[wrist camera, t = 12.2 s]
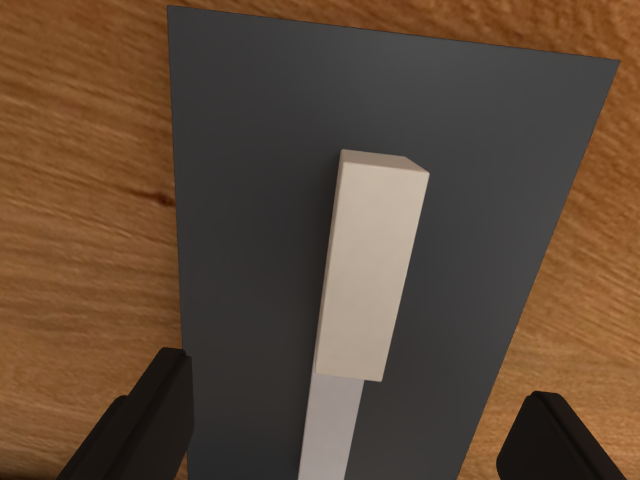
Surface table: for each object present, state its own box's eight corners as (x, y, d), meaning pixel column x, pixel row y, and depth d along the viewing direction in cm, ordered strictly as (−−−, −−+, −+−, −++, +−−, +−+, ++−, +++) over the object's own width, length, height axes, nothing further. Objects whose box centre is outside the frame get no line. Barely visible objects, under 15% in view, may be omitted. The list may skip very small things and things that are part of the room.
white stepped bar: (341, 148, 13) (342, 161, 10) (406, 156, 13) (430, 172, 10) (298, 473, 20) (290, 546, 17) (341, 478, 20) (342, 552, 17)
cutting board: (197, 467, 22) (188, 491, 21) (184, 15, 13) (166, 4, 12) (433, 496, 22) (440, 522, 21) (591, 65, 13) (622, 59, 12)
